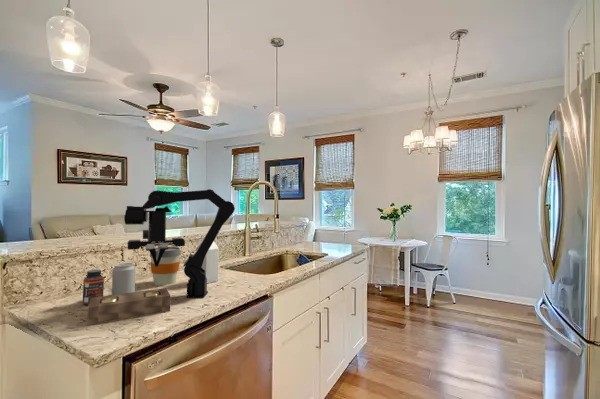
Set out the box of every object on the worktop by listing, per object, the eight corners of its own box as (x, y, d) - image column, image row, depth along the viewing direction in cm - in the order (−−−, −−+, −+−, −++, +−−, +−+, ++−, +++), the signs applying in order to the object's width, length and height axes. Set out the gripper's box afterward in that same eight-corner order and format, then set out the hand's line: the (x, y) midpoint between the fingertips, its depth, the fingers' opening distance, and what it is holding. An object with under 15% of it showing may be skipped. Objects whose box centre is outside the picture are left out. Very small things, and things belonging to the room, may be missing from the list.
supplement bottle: (87, 306, 97) (87, 273, 97) (79, 303, 100) (80, 271, 100) (106, 301, 102) (107, 270, 102) (98, 298, 105) (99, 268, 105)
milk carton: (218, 280, 131) (219, 239, 132) (205, 284, 125) (206, 241, 126) (208, 278, 135) (208, 238, 135) (195, 281, 129) (196, 239, 129)
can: (123, 299, 105) (124, 266, 105) (106, 297, 106) (107, 265, 106) (139, 293, 112) (139, 262, 112) (122, 291, 114) (123, 261, 114)
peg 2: (157, 305, 99) (158, 290, 99) (159, 309, 95) (159, 294, 95) (144, 307, 97) (144, 292, 97) (145, 311, 93) (145, 296, 93)
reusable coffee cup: (165, 277, 136) (166, 246, 136) (186, 280, 131) (186, 247, 131) (142, 284, 124) (143, 249, 124) (164, 288, 119) (164, 252, 120)
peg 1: (116, 312, 92) (116, 296, 92) (116, 316, 89) (116, 300, 89) (101, 314, 90) (101, 298, 90) (100, 318, 87) (101, 302, 87)
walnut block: (166, 301, 103) (166, 287, 103) (170, 310, 94) (170, 295, 94) (90, 313, 91) (90, 297, 91) (87, 325, 83) (88, 307, 83)
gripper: (180, 222, 118) (179, 260, 118) (127, 223, 108) (126, 264, 108) (185, 224, 109) (184, 265, 108) (128, 225, 99) (127, 271, 98)
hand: (156, 266), depth 106 cm, fingers closed
